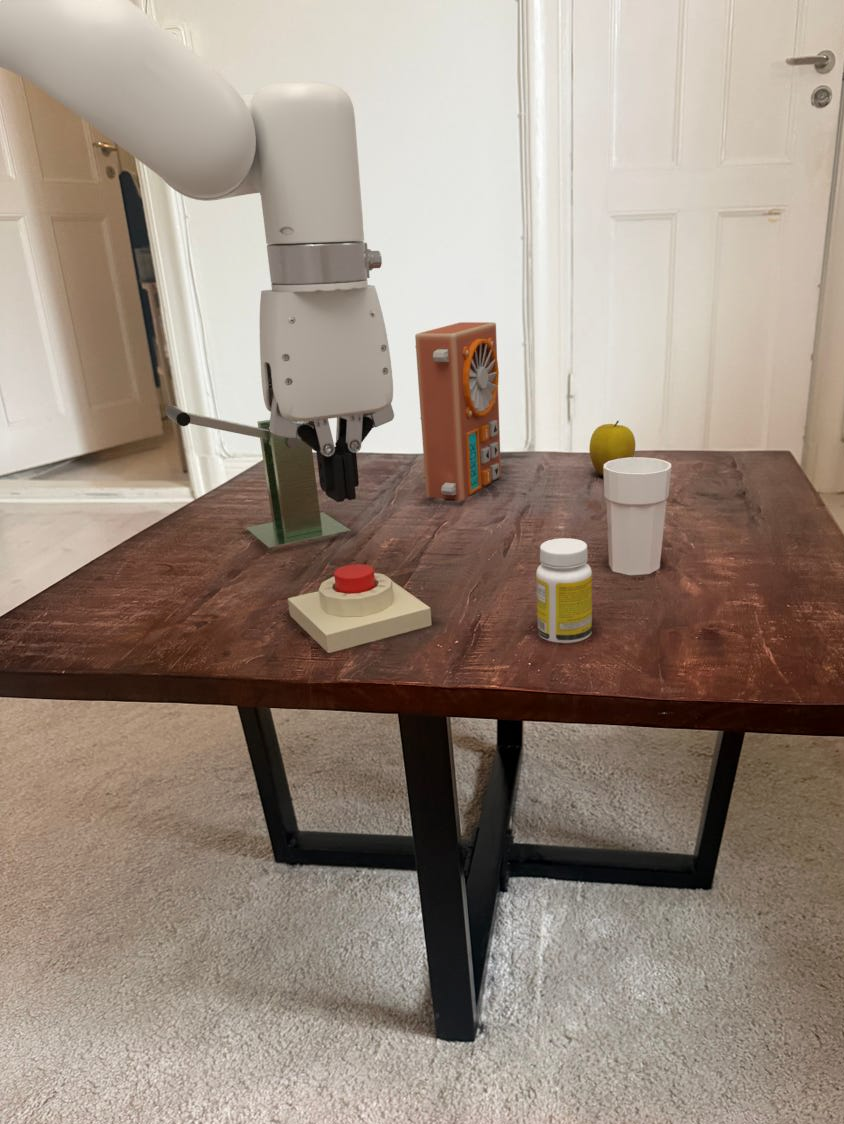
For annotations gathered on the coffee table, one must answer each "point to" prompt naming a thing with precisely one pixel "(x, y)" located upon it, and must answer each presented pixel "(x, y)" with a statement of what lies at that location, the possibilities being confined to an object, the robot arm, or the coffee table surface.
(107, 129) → the robot arm
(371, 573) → the button
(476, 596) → the coffee table surface
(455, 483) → the control panel
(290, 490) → the bracket
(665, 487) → the cup
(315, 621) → the button block
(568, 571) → the supplement bottle
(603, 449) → the apple
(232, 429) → the lever
